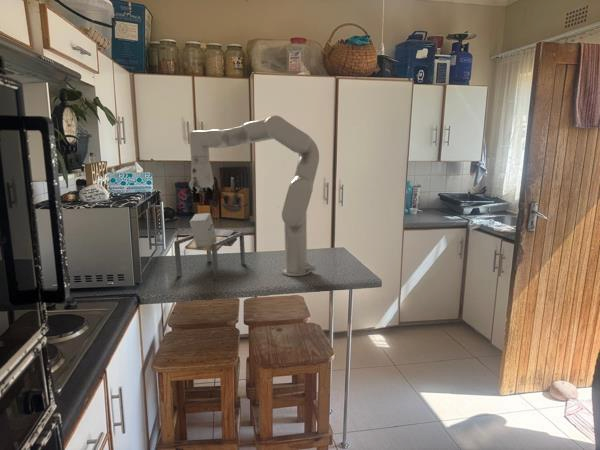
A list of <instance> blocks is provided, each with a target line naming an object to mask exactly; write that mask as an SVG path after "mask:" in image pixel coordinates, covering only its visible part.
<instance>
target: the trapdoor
mask: <svg viewBox="0 0 600 450" xmlns="http://www.w3.org/2000/svg"><path fill="white" fill-rule="evenodd" d="M214 230H215V234H216V239H215V241H214V243H215V242H217V241H220V240H222V239H225V238H227V237H229V236H232V235H234V234H236V233H235V231H236V230H234V229H220V228H214ZM237 240H238V237H237V238H235V239H233V240H231V241H228V242H226V243H224V244H221V245H219V246H217V252H218V251H219V250H220V249H221V248H222V247H232V246H233V245H234V244H235V243H236V242H237ZM184 249H185V250H194V251H206V252H207V251H211V252H212V246H203V247H196V244H195V240H194V239H191V240H190V242H189V243H188V244H186V245H185V246H184Z"/></svg>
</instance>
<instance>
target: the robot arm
mask: <svg viewBox="0 0 600 450" xmlns="http://www.w3.org/2000/svg"><path fill="white" fill-rule="evenodd" d="M270 140H274V141H277V142H278V143H279V144H280V145H283V146H285V147H286V148H287V149H289V150H290V151H292V152H293V153H296V154H298V162H297V165H296V168H295V172H294V176H293V178H292V180H291V182H290V183H289V185H288V189H287V192H286V196H285V200H284V203H283V207H282V211H281V218H282V221H283V223H284V228H283V229H284V257H285V258H284V260H285V263H284V264H285V267H284V268H282V270H281V272H282V274H283V275H285V276H287V277H288V276H289V277H302V276H306V275H309V274H311V272H312V271H313V272H314V271H316V270H317V266H316V265H315V264H310V261H308V247H307V246H308V245H307V244H308V243H307V239H308V238H307V237H308V235H307V232H308V231H307V217H308V214H307V211H308V208H309V205H310V204H309V203H310V200H311V197H312V193H313V191H314V190H313V188H314V182H315V179H316V175H317V170H318V168H319V167H318V166H319V162H320V152H319V148H318V146H317V144H316V142H315V140H314V139H312V138H311V136H309V134H307V133H305V132H304V131H303V130H301V129H299V128H298V127H296V126H295V125H293V124H292V123H290V122H288V121H287V120H286V119H284V118H283V117H282V116H281V115H271V116H269V117H268V118H263V119H258V120H253V121H248V122H245V123H243V124H242V125H240V126H237V127H232V128H227V129H221V130H220V129H209V130H192V131H190V132H189V147H190V162H191V163H190V164H191V169H190V171H191V172H190V177H191V178H190V179H191V180H190V181H189V182H188V187H189V189H190V192H191V193H192V203H196V204H197V203H198V204H199V203H201V193H200V190H201V189H205V199H206V200H214V194H213V190H214V186H215V179H214V175H213V170H212V165H211V163H210V148H212V149H225V148H230V147H236V146H239V145H240V146H241V145H245V144H246V145H247V144H248V145H249V144H254V143H259V142H263V141H270Z"/></svg>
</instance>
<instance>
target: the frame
mask: <svg viewBox="0 0 600 450" xmlns="http://www.w3.org/2000/svg"><path fill="white" fill-rule="evenodd" d="M235 233H236V234H234V235H232V236H229V237H227V238H225V239H222V240H220V241H217V242H215V243H213V244H212V251H206V260H207V262H208V263H211V262H212V271H213V272H212V273H213V281H216V282H217V281H219V280H220V277H219V276H220V275H219V261H218V260H219V259H218V251H217V246H219V245H221V244H224V243H226V242H228V241H231V240H233V239H235V238H237V239H238V238H239V251H240V265H241V266H244V265H246V252H245V234H244V231H236V230H235ZM193 239H194V236H193V234H191V235H188V236H185V237H183V238H180V239H177V240H174V241H173V245H174V254H175V255H174V257H175V268H176V277H178V278H179V277H182V276H183V272H182V261H181V260H182V259H181V257H182V256H181V248H180V244H182V243H186V242H188V241H192V240H193Z"/></svg>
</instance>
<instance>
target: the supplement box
mask: <svg viewBox="0 0 600 450" xmlns="http://www.w3.org/2000/svg"><path fill="white" fill-rule="evenodd" d="M189 226H190V229H191V232H192V235H193V236H194V240H195V244H196V247H203V246H212V244H213V243H214V241H215V239H216V234H215V230H214V229H215V225H214V222H213V219H212V214H211V213H210V212H206V213H205V212H204V213H195V214H194V215H193V216H192V218H191V219H190V220H189Z"/></svg>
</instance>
